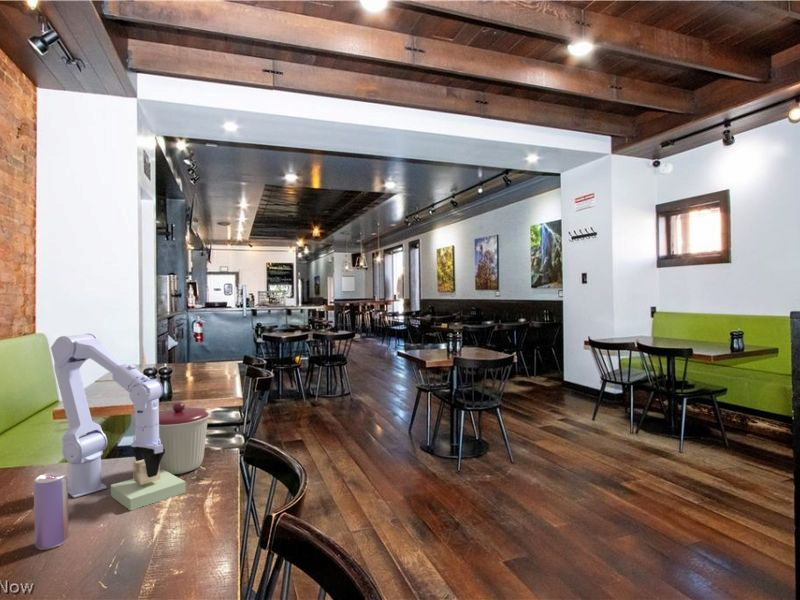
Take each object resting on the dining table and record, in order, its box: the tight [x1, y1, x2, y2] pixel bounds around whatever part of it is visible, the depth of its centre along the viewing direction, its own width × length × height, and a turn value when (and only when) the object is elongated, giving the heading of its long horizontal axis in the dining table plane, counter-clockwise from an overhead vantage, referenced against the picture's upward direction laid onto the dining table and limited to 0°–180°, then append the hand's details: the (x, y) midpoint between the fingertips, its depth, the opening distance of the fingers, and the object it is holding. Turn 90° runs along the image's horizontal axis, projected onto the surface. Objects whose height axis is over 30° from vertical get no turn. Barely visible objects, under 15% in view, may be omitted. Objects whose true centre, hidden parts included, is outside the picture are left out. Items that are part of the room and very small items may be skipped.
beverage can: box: [33, 471, 70, 551], centre depth 101 cm, size 6×6×15 cm
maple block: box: [132, 459, 160, 485], centre depth 126 cm, size 5×5×5 cm
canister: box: [159, 401, 211, 476], centre depth 144 cm, size 18×18×21 cm
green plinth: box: [110, 470, 187, 511], centre depth 126 cm, size 14×14×3 cm
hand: (148, 473), depth 126 cm, fingers closed on maple block, 5 cm apart
